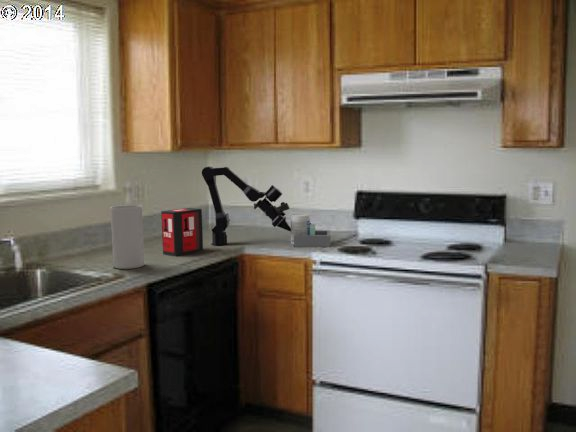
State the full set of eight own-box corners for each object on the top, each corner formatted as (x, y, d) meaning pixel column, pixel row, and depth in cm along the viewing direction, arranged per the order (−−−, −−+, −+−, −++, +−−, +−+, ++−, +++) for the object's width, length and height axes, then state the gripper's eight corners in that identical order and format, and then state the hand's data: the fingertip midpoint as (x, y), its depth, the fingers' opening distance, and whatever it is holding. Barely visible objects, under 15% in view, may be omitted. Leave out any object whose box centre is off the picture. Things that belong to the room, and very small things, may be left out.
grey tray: (294, 247, 293) (293, 235, 292) (295, 241, 309) (295, 230, 309) (330, 246, 291) (330, 235, 291) (330, 241, 308) (330, 230, 308)
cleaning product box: (190, 249, 292) (189, 208, 290) (203, 251, 286) (201, 209, 284) (163, 254, 280) (161, 211, 277) (175, 256, 274) (173, 212, 271)
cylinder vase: (136, 262, 262) (133, 204, 259) (149, 266, 252) (147, 206, 249) (108, 266, 253) (105, 206, 251) (121, 270, 244) (118, 209, 241)
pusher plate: (309, 246, 294) (309, 227, 293) (310, 241, 307) (310, 224, 306) (314, 246, 294) (314, 227, 293) (315, 241, 307) (315, 224, 306)
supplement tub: (311, 245, 296) (311, 215, 295) (292, 246, 295) (292, 216, 293) (308, 242, 306) (307, 213, 304) (289, 243, 305) (289, 214, 303)
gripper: (278, 199, 289) (301, 221, 290) (281, 195, 308) (303, 216, 309) (262, 215, 291) (285, 238, 291) (266, 211, 309) (288, 232, 310)
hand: (291, 230), depth 300 cm, fingers closed, pressing on supplement tub
